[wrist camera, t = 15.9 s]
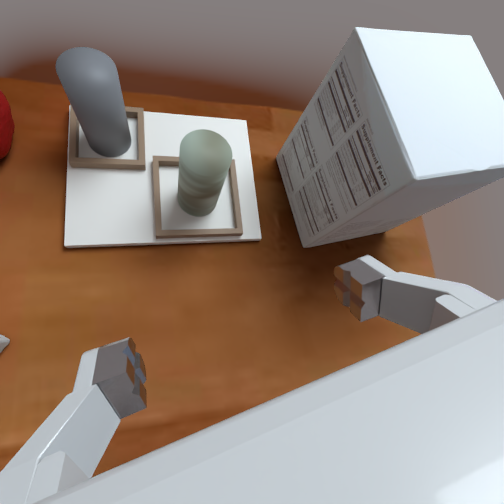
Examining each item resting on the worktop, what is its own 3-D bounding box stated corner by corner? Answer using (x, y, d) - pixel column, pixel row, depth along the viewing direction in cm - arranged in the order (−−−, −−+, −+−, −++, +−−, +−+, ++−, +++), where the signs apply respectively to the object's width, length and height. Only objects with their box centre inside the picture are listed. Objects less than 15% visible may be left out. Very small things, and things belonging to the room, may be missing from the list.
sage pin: (178, 216, 31) (181, 174, 23) (176, 180, 32) (178, 127, 24) (218, 216, 32) (235, 176, 24) (215, 181, 33) (229, 131, 25)
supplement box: (355, 148, 42) (473, 32, 25) (386, 232, 39) (539, 163, 23) (273, 156, 37) (352, 22, 21) (302, 250, 35) (416, 181, 19)
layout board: (67, 248, 28) (16, 208, 19) (72, 110, 32) (31, 21, 23) (259, 240, 34) (292, 207, 25) (244, 124, 37) (268, 58, 28)
